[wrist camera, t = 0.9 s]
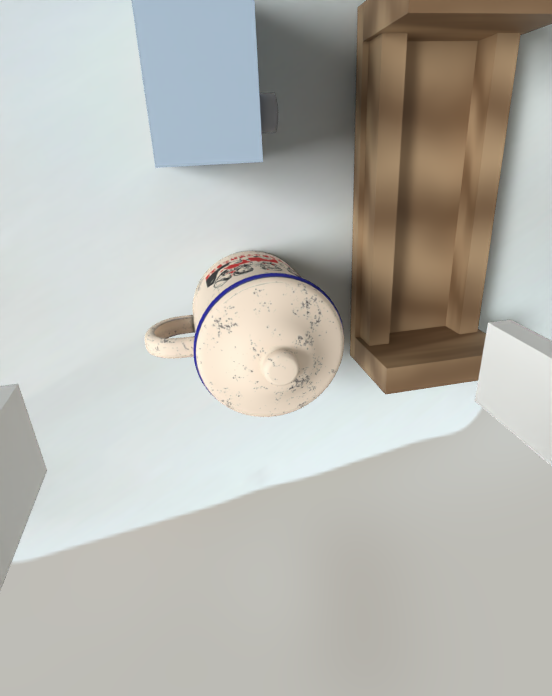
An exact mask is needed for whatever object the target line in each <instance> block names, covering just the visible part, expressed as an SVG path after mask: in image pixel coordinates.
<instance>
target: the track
mask: <svg viewBox="0 0 552 696" xmlns="http://www.w3.org/2000/svg"><path fill="white" fill-rule="evenodd" d="M550 24H552V0H366V1H365V2H364V3H363V4H361V5H360V6H359V7H358V20H357V65H356V110H355V155H354V200H353V245H352V290H351V335H350V355H351V357H352V358H353V359H354V360H355V361H356V362H357V363H358V364H359V365H360V367H361V368H362V369H363V370H364V371H365V372H366V373H367V374H368V375H369V377H370V378H371V379H372V380H373V381H374V382H375V383H376V384H377V385H378V387H379V388H380V389H381V390H382V391H383V392H384V393H385V394H391V393H398V392H404V391H411V390H418V389H424V388H431V387H437V386H444V385H451V384H457V383H464V382H471V381H477V380H478V379H479V373H480V367H481V361H482V355H483V349H484V344H485V338H486V333H484V332H482V331H480V330H479V329H478V325H479V318H480V311H481V304H482V297H483V290H484V283H485V276H486V269H487V262H488V256H489V249H490V242H491V235H492V228H493V221H494V214H495V207H496V200H497V193H498V186H499V179H500V173H501V166H502V159H503V152H504V145H505V138H506V131H507V124H508V117H509V110H510V103H511V96H512V90H513V83H514V76H515V69H516V62H517V55H518V48H519V41H520V35H522V34H525V33H528V32H530V31H533V30H536V29H539V28H541V27H544V26H547V25H550Z"/></svg>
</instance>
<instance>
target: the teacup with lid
mask: <svg viewBox="0 0 552 696" xmlns="http://www.w3.org/2000/svg"><path fill="white" fill-rule="evenodd" d="M193 332H195V336H194V337H185V338H169V337H172V336H175V335H179V334H185V333H193ZM145 345H146V349H147V351H148V352H149V353H150V354H152V355H154V356H157V357H162V358H185V357H193V356H194V361H195V366H196V369H197V372H198V375H199V377H200V379H201V381H202V383H203V384H204V386H205V387H206V389H207V390H208V391H209V392H210V393H211V394H212V395H213V396H214V397H215V398H216V399H217V400H218V401H220V402H221V403H222V404H223V405H225V406H227V407H228V408H230V409H232V410H234V411H237V412H239V413H242V414H246V415H251V416H258V417H271V416H279V415H284V414H287V413H290V412H293V411H296V410H298V409H300V408H302V407H304V406H306V405H307V404H309V403H310V402H312V401H313V400H314V399H316V398H317V397H318V396H319V395H320V394H321V393H322V392H323V391H324V390H325V389H326V388H327V387H328V385H329V384H330V383H331V381H332V380H333V378H334V376H335V374H336V373H337V371H338V368H339V366H340V363H341V360H342V356H343V350H344V331H343V325H342V321H341V318H340V315H339V313H338V311H337V308H336V307H335V305H334V303H333V302H332V301H331V299H330V298H329V297H328V296H327V295H326V294H325V293H324V292H323V291H322V290H321V289H320V288H319V287H317V286H316V285H314V284H313V283H311V282H309V281H307V280H305V279H303V278H302V277H301V276H300V275H299V274H298V273H297V272H296V271H294V270H293V269H292V268H291V267H290V266H289V265H288V264H287V263H285V262H284V261H283V260H281V259H279V258H278V257H276V256H273V255H271V254H268V253H264V252H258V251H245V252H239V253H235V254H232V255H229V256H227V257H225V258H223V259H221V260H219V261H218V262H216V263H215V264H214V265H213V266H212V267H210V268H209V269H208V271H207V272H206V273H205V274H204V275H203V277H202V278H201V280H200V282H199V284H198V286H197V288H196V291H195V295H194V299H193V315H187V316H179V317H174V318H169V319H166V320H163V321H161V322H159V323H157V324H155V325H153V326H152V327H151V328H150V329H149V330H148V331H147V332H146V334H145Z"/></svg>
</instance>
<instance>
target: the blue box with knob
mask: <svg viewBox="0 0 552 696" xmlns="http://www.w3.org/2000/svg"><path fill="white" fill-rule="evenodd" d="M132 7H133V14H134V21H135V28H136V35H137V42H138V49H139V56H140V63H141V70H142V77H143V84H144V91H145V98H146V105H147V111H148V118H149V125H150V132H151V139H152V146H153V153H154V160H155V167H156V168H158V167H177V166H196V165H215V164H234V163H253V162H263V153H262V134H261V133H275V132H276V130H277V124H278V107H277V99H276V95H275V93H259V78H258V59H257V41H256V22H255V3H254V0H132Z"/></svg>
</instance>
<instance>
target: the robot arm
mask: <svg viewBox="0 0 552 696" xmlns="http://www.w3.org/2000/svg"><path fill="white" fill-rule="evenodd" d="M475 402H477V403H478V404H479V405H480V406H481V407H482V408H484V409H485V410H486V411H487V412H489V414H491V415H492V416H493V417H494V418H495V419H497V420H498V421H499V422H500V423H501V424H503V425H504V426H505V427H506V428H507V429H508V430H509V431H511V432H512V433H513V434H514V435H515V436H517V437H518V438H519V439H520V440H521V441H523V442H524V443H525V444H526V445H527V446H528V447H529V448H531V449H532V450H533V451H534V452H535V453H537V454H538V455H539V456H540V457H541V458H543V459H544V460H545V461H546V462H547V463H548V464H550V465H551V466H552V341H551V340H549V339H547V338H545V337H543V336H541V335H540V334H538V333H536V332H534V331H532V330H530V329H528V328H526V327H524V326H522V325H520V324H518V323H516V322H514V321H513V320H504V321H496V322H488V326H487V332H486V338H485V344H484V349H483V355H482V361H481V367H480V373H479V379H478V384H477V390H476V396H475ZM46 472H47V469H46V466H45V463H44V460H43V457H42V454H41V451H40V448H39V445H38V442H37V439H36V436H35V433H34V430H33V427H32V424H31V421H30V418H29V415H28V412H27V409H26V406H25V403H24V400H23V397H22V394H21V391H20V388H19V385H18V384H13V385H5V386H0V590H1V588H2V585H3V583H4V580H5V578H6V575H7V572H8V570H9V567H10V565H11V562H12V560H13V557H14V554H15V552H16V549H17V547H18V544H19V542H20V539H21V536H22V534H23V531H24V529H25V526H26V523H27V521H28V518H29V516H30V513H31V511H32V508H33V505H34V503H35V500H36V498H37V495H38V492H39V490H40V487H41V485H42V482H43V480H44V477H45V474H46Z"/></svg>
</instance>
